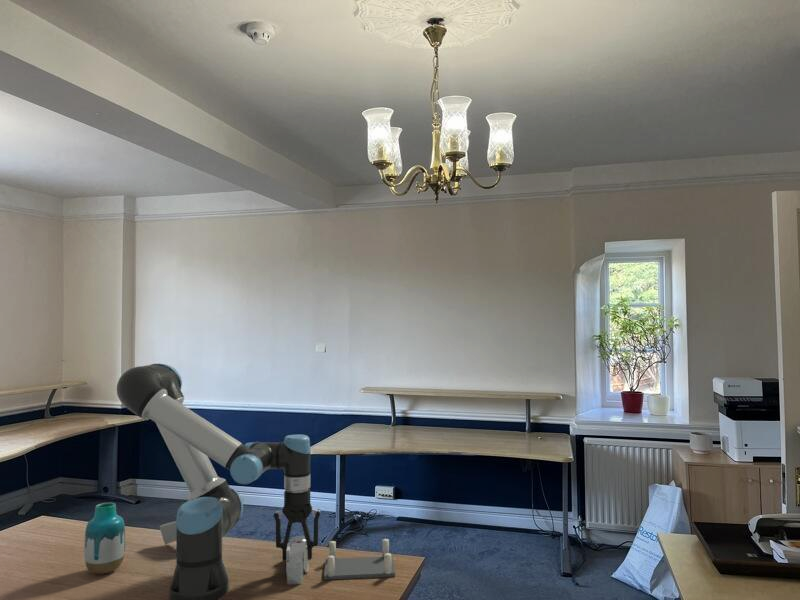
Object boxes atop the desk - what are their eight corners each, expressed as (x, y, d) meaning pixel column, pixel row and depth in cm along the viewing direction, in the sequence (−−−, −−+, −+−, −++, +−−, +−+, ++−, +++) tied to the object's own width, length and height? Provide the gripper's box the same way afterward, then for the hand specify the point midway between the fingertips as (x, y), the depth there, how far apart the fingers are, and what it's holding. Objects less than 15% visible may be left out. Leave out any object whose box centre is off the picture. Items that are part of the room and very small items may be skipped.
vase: (132, 566, 173) (133, 500, 174) (106, 581, 163) (106, 512, 164) (103, 562, 176) (104, 498, 177) (75, 577, 166) (76, 509, 166)
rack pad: (323, 580, 162) (323, 558, 162) (325, 561, 175) (325, 541, 175) (395, 577, 164) (395, 555, 164) (392, 558, 177) (391, 538, 177)
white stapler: (167, 556, 186) (204, 543, 182) (158, 526, 188) (194, 512, 184) (175, 552, 190) (211, 538, 186) (166, 522, 192) (202, 508, 188)
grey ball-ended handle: (305, 583, 160) (305, 561, 160) (283, 584, 160) (283, 562, 160) (310, 554, 180) (310, 535, 180) (290, 555, 180) (290, 536, 180)
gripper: (264, 494, 164) (264, 577, 163) (327, 492, 166) (327, 575, 165) (268, 486, 172) (268, 566, 171) (328, 484, 173) (328, 564, 172)
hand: (297, 570), depth 168 cm, fingers open, 5 cm apart
